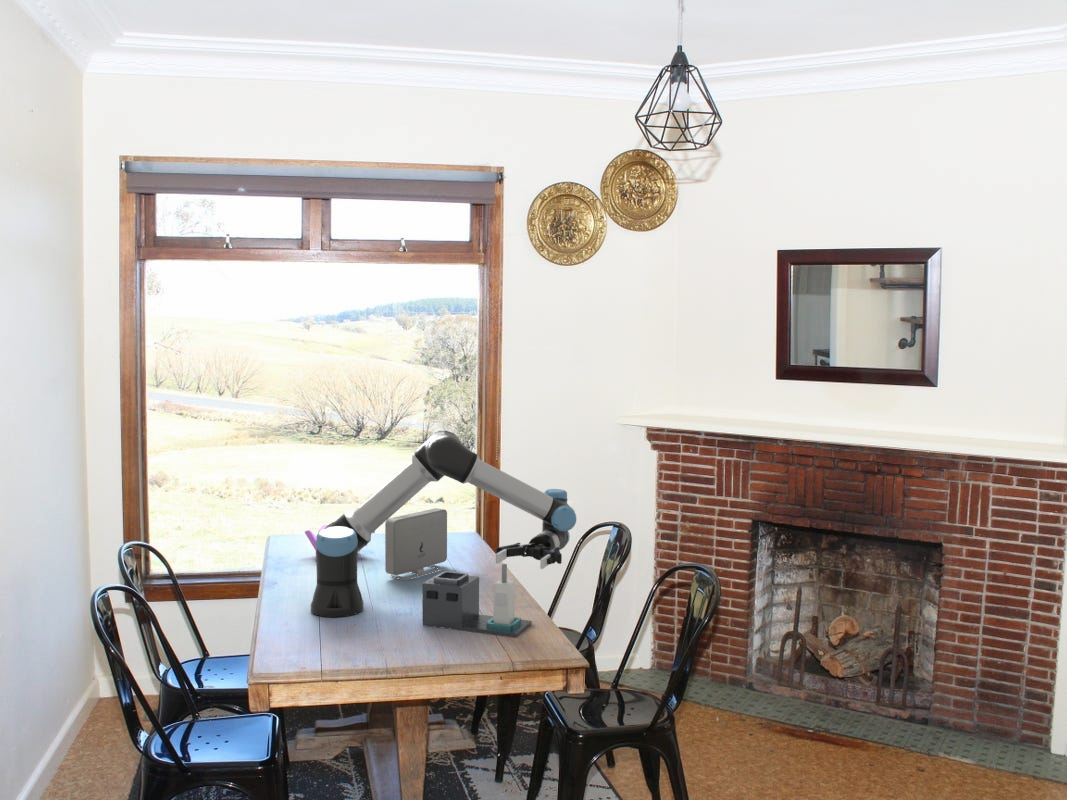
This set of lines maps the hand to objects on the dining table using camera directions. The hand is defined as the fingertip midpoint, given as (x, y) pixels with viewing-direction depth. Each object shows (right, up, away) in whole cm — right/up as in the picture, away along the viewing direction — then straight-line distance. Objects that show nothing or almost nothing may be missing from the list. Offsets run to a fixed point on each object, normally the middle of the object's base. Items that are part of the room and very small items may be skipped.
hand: (519, 561), depth 283 cm
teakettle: (-66, -10, +70) cm, 97 cm away
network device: (-35, -12, +49) cm, 62 cm away
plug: (-4, -16, -8) cm, 18 cm away
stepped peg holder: (-12, -17, -5) cm, 21 cm away
